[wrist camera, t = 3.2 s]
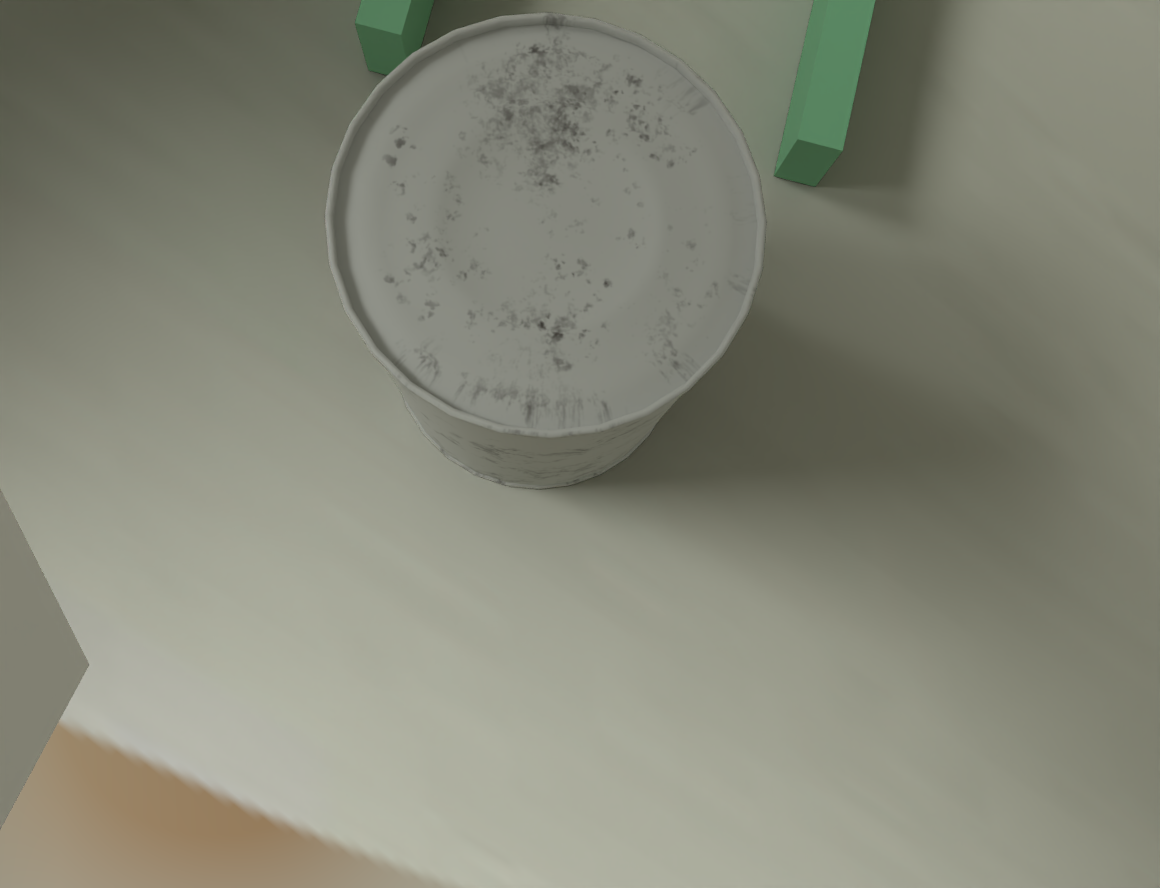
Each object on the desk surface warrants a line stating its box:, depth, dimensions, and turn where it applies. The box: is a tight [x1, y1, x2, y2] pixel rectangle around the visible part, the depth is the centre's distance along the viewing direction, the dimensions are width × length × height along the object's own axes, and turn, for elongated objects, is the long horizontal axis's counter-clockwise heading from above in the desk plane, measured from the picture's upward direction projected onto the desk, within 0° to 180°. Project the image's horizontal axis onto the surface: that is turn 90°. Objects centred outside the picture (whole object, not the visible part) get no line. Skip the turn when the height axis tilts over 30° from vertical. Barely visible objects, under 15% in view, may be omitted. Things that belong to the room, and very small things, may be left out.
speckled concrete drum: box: [325, 12, 767, 489], centre depth 28 cm, size 10×10×12 cm
